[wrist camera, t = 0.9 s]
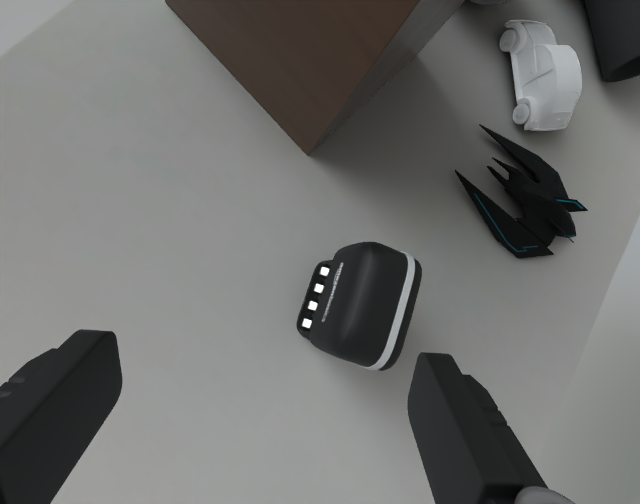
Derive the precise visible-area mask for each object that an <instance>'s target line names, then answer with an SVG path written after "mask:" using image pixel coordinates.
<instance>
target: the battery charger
mask: <svg viewBox="0 0 640 504" xmlns="http://www.w3.org/2000/svg"><path fill="white" fill-rule="evenodd" d="M421 277H422V268H421V266H420V263H419V262H418V261H417V260H416V259H414V258H413V257H412V256H411V255H410V254H408V253H405V252H403V251H397V250H394V249H392V248H390V247H388V246H385V245H383V244H380V243H377V242H362V243H357V244H353V245H349V246H346V247H343V248H342V249H340V250H338V251H337V253H336V254H335V256H334V258H333V260H328V261H323V262H321V263H319V264H318V265H317V266H316V268H315V270H314V273H313V276H312V278H311V281H310V284H309V287H308V290H307V293H306V296H305V299H304V301H303V304H302V307H301V310H300V313H299V316H298V320H297V329H298V331H299V333H300V334H301V335H302V336H303V337H305V338H307V339H308V340H311V343H312V344H313V345H314V346H316V347H317V348H319V349H320V350H322V351H324V352H326V353H329V354H331V355H333V356H335V357H338V358H340V359H343V360H346V361H348V362H350V363H352V364H355V365H357V366H360V367H362V368H365V369H368V370H380V371H383V370H386V369H389V368H391V367H392V366H393V365H394V364H395V362H396V361H397V359H398V357H399V355H400V353H401V350H402V347H403V344H404V341H405V337H406V334H407V331H408V327H409V324H410V320H411V317H412V313H413V309H414V306H415V302H416V298H417V294H418V290H419V287H420V282H421Z"/></svg>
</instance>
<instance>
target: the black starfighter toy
mask: <svg viewBox="0 0 640 504" xmlns="http://www.w3.org/2000/svg"><path fill="white" fill-rule="evenodd" d="M479 125H480V124H479ZM480 126H481V127H482V128H483V129H484V130H485V131H486V132H487V133H488V134H490V135H491V136H492V137H493V138H494V139H495V140H496V141H497V142H498V143H499V144H500V145H501V146H503V147H504V148H505V149H506V150H507V151H508V152H509V153H510V154H511V155H512V156H513V157H514V158H516V159H517V160H518V161H519V162H520V163H521V164H522V165H523V166H524V167H525V168H526V169H527V170H529V171H530V172H531V173H532V174H533V175H534V176H535V177H536V179H537V182H538V183H535V182H534V181H533V180H531V179H530V178H529V177H527V176H526V175H525V174H523V173H522V172H521V171H519V170H518V169H516V168H513V167H511V166H509V165H507V164H505V163H502V162H501V161H499V160H497V159H495V158H493V157H492V159H494V160H495V161H496V162H497V163H498V164H499V165H500V166H502V167H503V168H504V169H505V170H506V171H507V172H508V173H509V180H506V179H505V178H503V177H502V176H501V175H500V174H499V173H498V172H496V171H495V170H494V169H493V168H492V167H490V166H487V168H488V169H489V170H490V172H491V173H492V175H493V176H494V177H495V178H496V179H497V180H498V181H499V182H500V183H501V184H502V185H503V186H504V187H505V191H506V192H507V193H508V194H509V195H510V196H511V197H512V198H513V199H514V200H515V201H516V202H517V203H518V204H519V205H520V206H521V207H522V208H523V218H516V219H517V221H516V220H515V219H513V218H512V217H511V216H510V215H509V214H507V213H506V212H505V211H504V210H503V209H501V208H500V207H499V206H498V205H497V204H495V203H494V202H493V201H492V200H491V199H490V198H488V197H487V196H486V195H485V194H484V193H482V192H481V191H480V190H479V189H478V188H476V187H475V186H474V185H473V184H472V183H470V182H469V181H468V180H467V179H466V178H464V177H463V176H462V175H461V174H460V173H458V172H457V171H456V170H455V173H456V174H457V176H458V177H459V179H460V181H461V182H462V184H463V186H464V187H465V189H466V191H467V192H468V194H469V195H470V197H471V199H472V200H473V202H474V204H475V205H476V207H477V209H478V210H479V212H480V214H481V215H482V217H483V218H484V220H485V222H486V223H487V225H488V227H489V228H490V230H491V232H492V233H493V235H494V236H495V238H496V240H497V241H498V242H500V243H501V244H502V245H503V246H504V247H505V248H507V249H508V250H509V251H510V252H511V253H513V254H514V255H515V256H516V257H517V258H528V257H537V256H545V255H554V253H553V252H552V251H550V250H549V249H548V248H547V247H548V246H549V245H550V244H551V242H552V241H553V239H554V238H555V236H556V235H557V236H561V237H566V238H569V239H570V237H574V236H576V231H575V225H574V223H573V220H572V218H571V215H570V213H569V212H576V211H588V210H587V209H586V208H585V207H584V206H583V205H582V204H581V203H579V202H578V201H577V200H573V199H569V198H568V195H567V193H566V191H565V188H564V186H563V183H562V181H561V179H560V176H559V174H558V172H557V171H555V170H554V169H553V168H552V167H551V166H550V165H548V164H547V163H546V162H545V161H544V160H543V159H541V158H540V157H539V156H538V155H536V154H534V153H532V152H530V151H529V150H527V149H525V148H523V147H521V146H519V145H517V144H516V143H514V142H512V141H510V140H508V139H506V138H504V137H503V136H501V135H499V134H497V133H495V132H493V131H491V130H489V129H488V128H486V127H484V126H482V125H480ZM566 210H567V211H568V212H567V211H566ZM570 240H571V239H570ZM571 241H572V240H571ZM572 242H573V241H572ZM573 243H574V242H573Z"/></svg>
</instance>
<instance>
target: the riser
mask: <svg viewBox="0 0 640 504" xmlns="http://www.w3.org/2000/svg"><path fill="white" fill-rule="evenodd" d="M464 1H465V0H165V2H166V4H167V5H168V6H169V7H170V8H171V9H172V10H173V11H174V12H175V13H176V14H177V15H178V16H179V18H180V19H181V20H182V21H183V22H184V23H185V24H186V25H187V26H188V27H189V28H190V29H191V30H192V32H193V33H194V34H195V35H196V36H197V37H198V38H199V39H200V40H201V41H202V42H203V43H204V45H205V46H206V47H207V48H208V49H209V50H210V51H211V52H212V53H213V54H214V55H215V56H216V57H217V59H218V60H219V61H220V62H221V63H222V64H223V65H224V66H225V67H226V68H227V69H228V70H229V71H230V73H231V74H232V75H233V76H234V77H235V78H236V79H237V80H238V81H239V82H240V83H241V84H242V85H243V87H244V88H245V89H246V90H247V91H248V92H249V93H250V94H251V95H252V96H253V97H254V98H255V99H256V101H257V102H258V103H259V104H260V105H261V106H262V107H263V108H264V109H265V110H266V111H267V112H268V113H269V115H270V116H271V117H272V118H273V119H274V120H275V121H276V122H277V123H278V124H279V125H280V126H281V128H282V129H283V130H284V131H285V132H286V133H287V134H288V135H289V136H290V137H291V138H292V139H293V140H294V142H295V143H296V144H297V145H298V146H299V147H300V148H301V149H302V150H303V151H304V152H305V153H306V154H307V155H309V154H310V153H311V152H312V151H313V150H314V149H315V148H316V147H317V146H318V145H320V144H321V143H322V142H323V141H324V140H325V139H326V138H327V137H328V136H329V135H330V134H331V133H333V132H334V131H335V130H336V129H337V128H338V127H339V126H340V125H341V124H342V123H343V122H345V121H346V120H347V119H348V118H349V117H350V116H351V115H352V114H353V113H354V112H355V111H356V110H358V109H359V108H360V107H361V106H362V105H363V104H364V103H365V102H366V101H367V100H368V99H369V98H371V97H372V96H373V95H374V94H375V93H376V92H377V91H378V90H379V89H380V88H381V87H383V86H384V85H385V84H386V83H387V82H388V81H389V80H390V79H391V78H392V77H393V76H394V75H396V74H397V73H398V72H399V71H400V70H401V69H402V68H403V67H404V66H405V65H406V64H408V63H409V62H410V61H411V60H412V59H413V58H414V57H415V56H416V55H417V54H418V53H419V52H420V51H421V50H422V49H423V47H424V46H425V45H426V44H427V43H428V42H429V41H430V39H431V38H432V37H433V36H434V35H435V34H436V33H437V32H438V30H439V29H440V28H441V27H442V26H443V25H444V24H445V22H446V21H447V20H448V19H449V18H450V17H451V16H452V14H453V13H454V12H455V11H456V10H457V9H458V8H459V6H460V5H461V4H462V3H463V2H464Z"/></svg>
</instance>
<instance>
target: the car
mask: <svg viewBox="0 0 640 504" xmlns="http://www.w3.org/2000/svg"><path fill="white" fill-rule="evenodd" d="M546 24H548V23H543V22H539V21H532V20H509V21H508V22H507V23H505V27H507V28H514V30H513V29H509V30H507V31H505V32H504V33H503V35H502V36H501V39H500V43H499V44H500V49H501V50H502V51H506V52H510V54H511V62H512V69H513V77H514V85H515V93H516V100H517V105H518V106H516V107H515V109H514V111H513V115H512V117H513V121H514V122H515V123H516V124H525V126H524V130H531V131H550V130H559V129H564V128H566V127H567V124H568V123H569V122H570V120H571V117H572V112H573V111H574V109H575V106H576V104H577V102H578V100H579V98H580V95H581V91H582V75H581V66H580V63H579V60H578V57H577V54H576V52H575V51H574V50H573V49H572V48H571V47H570V46H569V45H557V41H556V39H555V35H554V33H553V31H552V29H551V28H550V27H549V26H547V25H546ZM522 103H524V104H522Z"/></svg>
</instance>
